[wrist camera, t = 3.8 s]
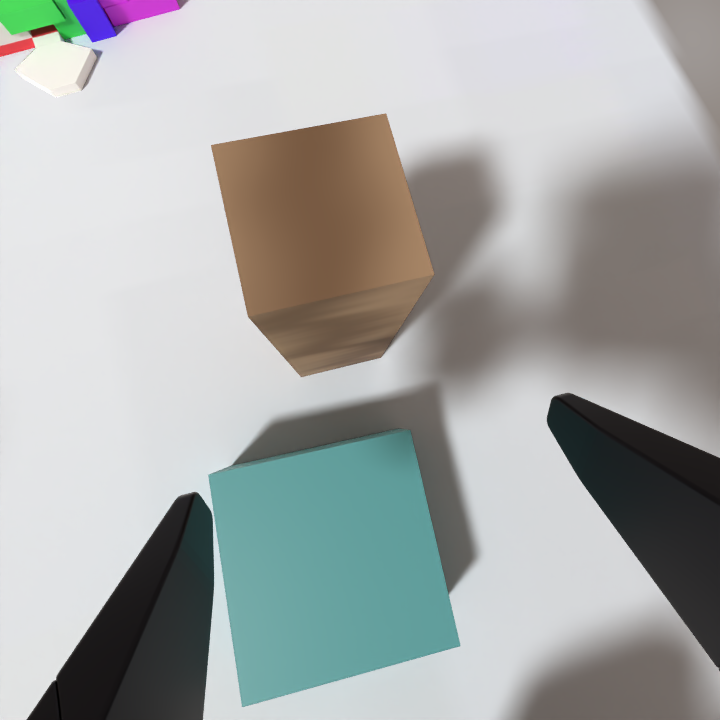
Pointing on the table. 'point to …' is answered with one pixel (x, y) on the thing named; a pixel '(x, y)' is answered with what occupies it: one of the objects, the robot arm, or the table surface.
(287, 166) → the walnut pillar
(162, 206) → the table surface
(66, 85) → the building block set
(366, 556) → the teal base block
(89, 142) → the table surface
